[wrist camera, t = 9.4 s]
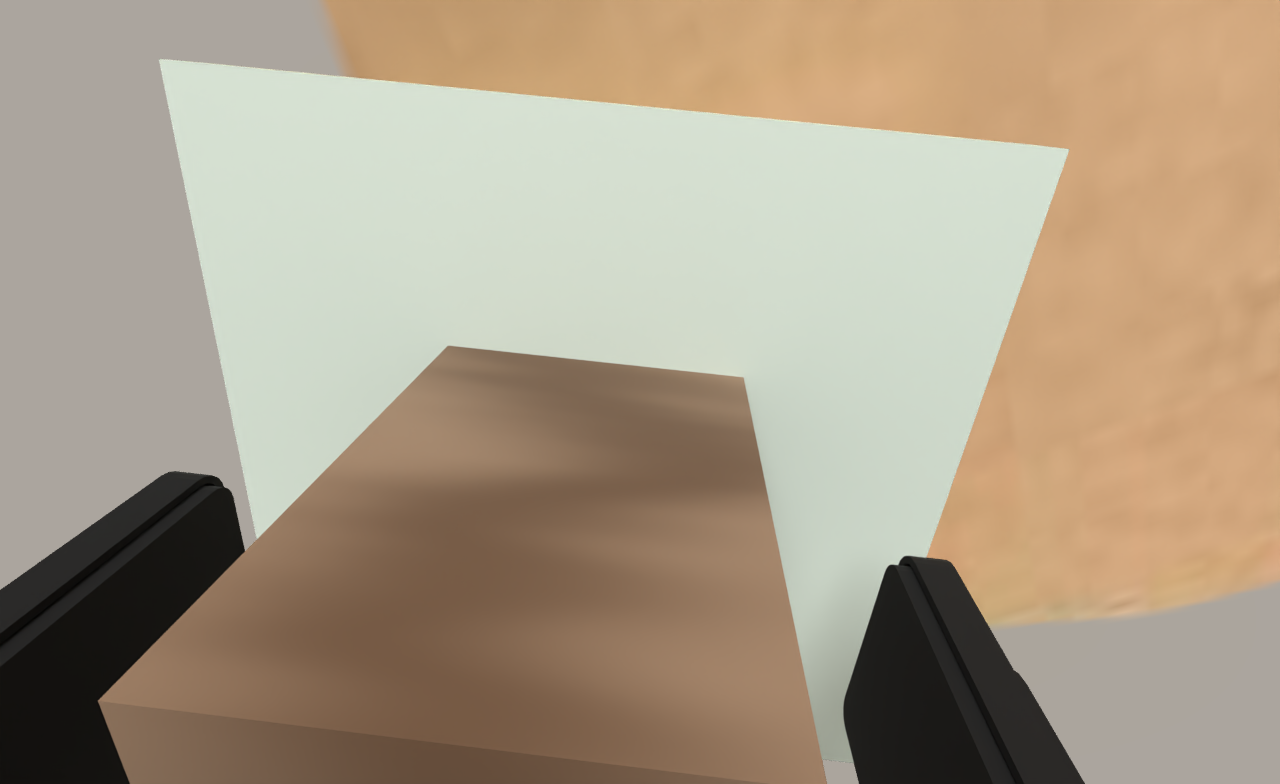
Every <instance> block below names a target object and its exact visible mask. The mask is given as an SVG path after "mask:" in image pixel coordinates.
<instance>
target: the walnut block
mask: <svg viewBox="0 0 1280 784" xmlns="http://www.w3.org/2000/svg"><path fill="white" fill-rule="evenodd" d="M98 703H99V705H100V708H101V710H102V713H103V715H104V718H105V721H106V723H107V726H108V728H109V731H110V734H111V736H112V739H113V741H114V744H115V746H116V749H117V752H118V754H119V757H120V759H121V762H122V764H123V767H124V770H125V772H126V775H127V777H128V780H129V783H130V784H827V781H826V777H825V772H824V767H823V762H822V757H821V752H820V747H819V742H818V737H817V733H816V728H815V723H814V718H813V713H812V708H811V703H810V698H809V694H808V689H807V684H806V679H805V674H804V669H803V664H802V659H801V655H800V650H799V645H798V640H797V635H796V630H795V625H794V621H793V616H792V611H791V606H790V601H789V596H788V591H787V586H786V582H785V577H784V572H783V567H782V562H781V557H780V552H779V547H778V543H777V538H776V533H775V528H774V523H773V518H772V513H771V509H770V504H769V499H768V494H767V489H766V484H765V479H764V474H763V470H762V465H761V460H760V455H759V450H758V445H757V440H756V435H755V431H754V426H753V421H752V416H751V411H750V406H749V401H748V396H747V392H746V387H745V382H744V377H736V376H727V375H717V374H708V373H699V372H689V371H680V370H671V369H662V368H652V367H643V366H634V365H624V364H615V363H606V362H596V361H587V360H578V359H569V358H559V357H550V356H541V355H531V354H522V353H513V352H503V351H494V350H485V349H476V348H466V347H457V346H447V347H446V348H445V349H444V350H443V351H442V352H441V353H440V354H439V355H438V356H437V357H436V358H435V359H434V360H433V361H432V362H431V363H430V364H429V365H428V366H427V367H426V368H425V369H424V370H423V371H422V372H421V373H420V374H419V375H418V376H417V377H416V378H415V380H414V381H413V382H412V383H411V384H410V385H409V386H408V387H407V388H406V389H405V390H404V391H403V392H402V393H401V394H400V395H399V396H398V397H397V398H396V399H395V400H394V401H393V402H392V403H391V404H390V405H389V406H388V407H387V408H386V409H385V410H384V411H383V412H382V413H381V414H380V415H379V416H378V417H377V418H376V419H375V420H374V421H373V422H372V423H371V424H370V425H369V426H368V427H367V428H366V429H365V430H364V431H363V432H362V433H361V434H360V435H359V436H358V437H357V438H356V439H355V440H354V441H353V442H352V443H351V444H350V445H349V447H348V448H347V449H346V450H345V451H344V452H343V453H342V454H341V455H340V456H339V457H338V458H337V459H336V460H335V461H334V462H333V463H332V464H331V465H330V466H329V467H328V468H327V469H326V470H325V471H324V472H323V473H322V474H321V475H320V476H319V477H318V478H317V479H316V480H315V481H314V482H313V483H312V484H311V485H310V486H309V487H308V488H307V489H306V490H305V491H304V492H303V493H302V494H301V495H300V496H299V497H298V498H297V499H296V500H295V501H294V502H293V503H292V504H291V505H290V506H289V507H288V508H287V509H286V510H285V511H284V512H283V513H282V515H281V516H280V517H279V518H278V519H277V520H276V521H275V522H274V523H273V524H272V525H271V526H270V527H269V528H268V529H267V530H266V531H265V532H264V533H263V534H262V535H261V536H260V537H259V538H258V539H257V540H256V541H255V542H254V543H253V544H252V545H251V546H250V547H249V548H248V549H247V550H246V551H245V552H244V553H243V554H242V555H241V556H240V557H239V558H238V559H237V560H236V561H235V562H234V563H233V564H232V565H231V566H230V567H229V568H228V569H227V570H226V571H225V572H224V573H223V574H222V575H221V576H220V577H219V578H218V579H217V580H216V581H215V583H214V584H213V585H212V586H211V587H210V588H209V589H208V590H207V591H206V592H205V593H204V594H203V595H202V596H201V597H200V598H199V599H198V600H197V601H196V602H195V603H194V604H193V605H192V606H191V607H190V608H189V609H188V610H187V611H186V612H185V613H184V614H183V615H182V616H181V617H180V618H179V619H178V620H177V621H176V622H175V623H174V624H173V625H172V626H171V627H170V628H169V629H168V630H167V631H166V632H165V633H164V634H163V635H162V636H161V637H160V638H159V639H158V640H157V641H156V642H155V643H154V644H153V645H152V646H151V647H150V648H149V649H148V651H147V652H146V653H145V654H144V655H143V656H142V657H141V658H140V659H139V660H138V661H137V662H136V663H135V664H134V665H133V666H132V667H131V668H130V669H129V670H128V671H127V672H126V673H125V674H124V675H123V676H122V677H121V678H120V679H119V680H118V681H117V682H116V683H115V684H114V685H113V686H112V687H111V688H110V689H109V690H108V691H107V692H106V693H105V694H104V695H103V696H102V697H101V698H100V699H99V700H98Z"/></svg>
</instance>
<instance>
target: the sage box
mask: <svg viewBox="0 0 1280 784" xmlns="http://www.w3.org/2000/svg"><path fill="white" fill-rule="evenodd" d="M159 62H160V67H161V72H162V77H163V82H164V87H165V92H166V96H167V102H168V107H169V111H170V116H171V121H172V126H173V131H174V136H175V141H176V146H177V151H178V155H179V160H180V165H181V170H182V175H183V180H184V184H185V190H186V195H187V199H188V205H189V209H190V214H191V219H192V224H193V229H194V234H195V239H196V243H197V249H198V254H199V259H200V263H201V268H202V273H203V278H204V283H205V288H206V293H207V298H208V303H209V308H210V312H211V317H212V322H213V327H214V332H215V337H216V341H217V347H218V351H219V357H220V361H221V366H222V371H223V376H224V381H225V386H226V391H227V396H228V401H229V405H230V410H231V415H232V420H233V425H234V430H235V435H236V440H237V445H238V449H239V455H240V459H241V464H242V469H243V474H244V479H245V484H246V489H247V493H248V498H249V503H250V508H251V513H252V518H253V523H254V528H255V533H256V538H257V539H258V538H259V537H260V536H261V535H262V534H263V533H264V532H265V531H266V530H267V529H268V528H269V527H270V526H271V525H272V524H273V523H274V522H275V521H276V520H277V519H278V518H279V517H280V516H281V515H282V513H283V512H284V511H285V510H286V509H287V508H288V507H289V506H290V505H291V504H292V503H293V502H294V501H295V500H296V499H297V498H298V497H299V496H300V495H301V494H302V493H303V492H304V491H305V490H306V489H307V488H308V487H309V486H310V485H311V484H312V483H313V482H314V481H315V480H316V479H317V478H318V477H319V476H320V475H321V474H322V473H323V472H324V471H325V470H326V469H327V468H328V467H329V466H330V465H331V464H332V463H333V462H334V461H335V460H336V459H337V458H338V457H339V456H340V455H341V454H342V453H343V452H344V451H345V450H346V449H347V448H348V447H349V445H350V444H351V443H352V442H353V441H354V440H355V439H356V438H357V437H358V436H359V435H360V434H361V433H362V432H363V431H364V430H365V429H366V428H367V427H368V426H369V425H370V424H371V423H372V422H373V421H374V420H375V419H376V418H377V417H378V416H379V415H380V414H381V413H382V412H383V411H384V410H385V409H386V408H387V407H388V406H389V405H390V404H391V403H392V402H393V401H394V400H395V399H396V398H397V397H398V396H399V395H400V394H401V393H402V392H403V391H404V390H405V389H406V388H407V387H408V386H409V385H410V384H411V383H412V382H413V381H414V380H415V378H416V377H417V376H418V375H419V374H420V373H421V372H422V371H423V370H424V369H425V368H426V367H427V366H428V365H429V364H430V363H431V362H432V361H433V360H434V359H435V358H436V357H437V356H438V355H439V354H440V353H441V352H442V351H443V350H444V349H445V348H446V347H447V346H457V347H466V348H476V349H485V350H494V351H503V352H513V353H522V354H531V355H541V356H550V357H559V358H569V359H578V360H587V361H596V362H606V363H615V364H624V365H634V366H643V367H652V368H662V369H671V370H680V371H689V372H699V373H708V374H717V375H727V376H736V377H744V382H745V387H746V392H747V396H748V401H749V406H750V411H751V416H752V421H753V426H754V431H755V435H756V440H757V445H758V450H759V455H760V460H761V465H762V470H763V474H764V479H765V484H766V489H767V494H768V499H769V504H770V509H771V513H772V518H773V523H774V528H775V533H776V538H777V543H778V547H779V552H780V557H781V562H782V567H783V572H784V577H785V582H786V586H787V591H788V596H789V601H790V606H791V611H792V616H793V621H794V625H795V630H796V635H797V640H798V645H799V650H800V655H801V659H802V664H803V669H804V674H805V679H806V684H807V689H808V694H809V698H810V703H811V708H812V713H813V718H814V723H815V728H816V733H817V737H818V742H819V747H820V752H821V757H822V759H823V760H831V761H839V762H848V763H854V761H853V757H852V753H851V750H850V746H849V742H848V738H847V734H846V730H845V725H844V718H843V705H844V699H845V695H846V692H847V688H848V685H849V682H850V679H851V676H852V673H853V670H854V667H855V663H856V660H857V657H858V654H859V651H860V648H861V645H862V642H863V639H864V635H865V632H866V629H867V626H868V623H869V620H870V617H871V614H872V610H873V607H874V604H875V601H876V598H877V595H878V592H879V589H880V585H881V582H882V579H883V576H884V573H885V571H886V568H887V567H888V566H889V565H892V564H893V565H898V564H899V562H900V560H901V559H902V558H903V557H904V556H916V557H924V558H926V557H927V554H928V551H929V548H930V545H931V542H932V539H933V537H934V534H935V531H936V528H937V525H938V522H939V520H940V517H941V514H942V511H943V508H944V505H945V502H946V500H947V497H948V494H949V491H950V488H951V485H952V482H953V480H954V477H955V474H956V471H957V468H958V465H959V463H960V460H961V457H962V454H963V451H964V448H965V445H966V443H967V440H968V437H969V434H970V431H971V428H972V425H973V423H974V420H975V417H976V414H977V411H978V408H979V406H980V403H981V400H982V397H983V394H984V391H985V388H986V386H987V383H988V380H989V377H990V374H991V371H992V368H993V366H994V363H995V360H996V357H997V354H998V351H999V349H1000V346H1001V343H1002V340H1003V337H1004V334H1005V331H1006V329H1007V326H1008V323H1009V320H1010V317H1011V314H1012V311H1013V309H1014V306H1015V303H1016V300H1017V297H1018V294H1019V292H1020V289H1021V286H1022V283H1023V280H1024V277H1025V274H1026V272H1027V269H1028V266H1029V263H1030V260H1031V257H1032V254H1033V252H1034V249H1035V246H1036V243H1037V240H1038V237H1039V235H1040V232H1041V229H1042V226H1043V223H1044V220H1045V217H1046V215H1047V212H1048V209H1049V206H1050V203H1051V200H1052V197H1053V195H1054V192H1055V189H1056V186H1057V183H1058V180H1059V178H1060V175H1061V172H1062V169H1063V166H1064V163H1065V160H1066V158H1067V155H1068V152H1069V149H1063V148H1055V147H1047V146H1039V145H1030V144H1020V143H1010V142H999V141H989V140H979V139H969V138H959V137H949V136H939V135H929V134H919V133H909V132H898V131H888V130H878V129H868V128H858V127H848V126H838V125H828V124H818V123H808V122H798V121H787V120H777V119H767V118H757V117H747V116H737V115H727V114H717V113H707V112H697V111H686V110H676V109H666V108H656V107H646V106H636V105H626V104H616V103H606V102H596V101H586V100H575V99H565V98H555V97H545V96H535V95H525V94H515V93H505V92H495V91H485V90H474V89H464V88H454V87H444V86H434V85H424V84H414V83H404V82H394V81H384V80H374V79H363V78H353V77H343V76H333V75H322V74H313V73H302V72H293V71H282V70H271V69H262V68H252V67H242V66H232V65H222V64H212V63H200V62H189V61H176V60H165V59H159Z"/></svg>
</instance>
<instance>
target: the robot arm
mask: <svg viewBox="0 0 1280 784" xmlns="http://www.w3.org/2000/svg"><path fill="white" fill-rule="evenodd" d="M244 552H245V549H244V545H243V540H242V536H241V531H240V526H239V522H238V517H237V513H236V507H235V503H234V498H233V495H232V493H231V491H230V490H229V489H227V488H225V487H224V486H223V483H222V482H221V481H220V479H219V478H217V477H215V476H212V475H203V474H194V473H186V472H176V471H174V472H168V473H166V474H164V475H162V476H160V477H159V478H158V479H156V480H155V481H154V482H152V483H150V484H149V485H148V486H146V487H145V488H144V489H142V490H141V491H139V492H138V493H137V494H135V495H134V496H132V497H131V498H129V499H128V500H127V501H125V502H124V503H122V504H121V505H120V506H118V507H117V508H115V509H114V510H112V511H111V512H110V513H108V514H107V515H105V516H104V517H103V518H101V519H100V520H98V521H97V522H96V523H94V524H93V525H91V526H90V527H89V528H87V529H86V530H84V531H83V532H81V533H80V534H79V535H77V536H76V537H75V538H73V539H72V540H70V541H69V542H67V543H66V544H64V545H63V546H62V547H60V548H59V549H57V550H56V551H55V552H53V553H52V554H50V555H49V556H48V557H46V558H45V559H43V560H42V561H41V562H39V563H38V564H37V565H35V566H34V567H32V568H31V569H29V570H28V571H27V572H25V573H24V574H22V575H21V576H20V577H18V578H17V579H15V580H14V581H12V582H11V583H10V584H8V585H7V586H5V587H4V588H2V589H1V590H0V784H130V783H129V780H128V777H127V775H126V772H125V770H124V767H123V764H122V762H121V759H120V757H119V754H118V752H117V749H116V746H115V744H114V741H113V739H112V736H111V734H110V731H109V728H108V726H107V723H106V721H105V718H104V715H103V713H102V710H101V708H100V705H99V703H98V700H99V699H100V698H101V697H102V696H103V695H104V694H105V693H106V692H107V691H108V690H109V689H110V688H111V687H112V686H113V685H114V684H115V683H116V682H117V681H118V680H119V679H120V678H121V677H122V676H123V675H124V674H125V673H126V672H127V671H128V670H129V669H130V668H131V667H132V666H133V665H134V664H135V663H136V662H137V661H138V660H139V659H140V658H141V657H142V656H143V655H144V654H145V653H146V652H147V651H148V649H149V648H150V647H151V646H152V645H153V644H154V643H155V642H156V641H157V640H158V639H159V638H160V637H161V636H162V635H163V634H164V633H165V632H166V631H167V630H168V629H169V628H170V627H171V626H172V625H173V624H174V623H175V622H176V621H177V620H178V619H179V618H180V617H181V616H182V615H183V614H184V613H185V612H186V611H187V610H188V609H189V608H190V607H191V606H192V605H193V604H194V603H195V602H196V601H197V600H198V599H199V598H200V597H201V596H202V595H203V594H204V593H205V592H206V591H207V590H208V589H209V588H210V587H211V586H212V585H213V584H214V583H215V581H216V580H217V579H218V578H219V577H220V576H221V575H222V574H223V573H224V572H225V571H226V570H227V569H228V568H229V567H230V566H231V565H232V564H233V563H234V562H235V561H236V560H237V559H238V558H239V557H240V556H241V555H242V554H243V553H244ZM843 718H844V725H845V730H846V734H847V738H848V742H849V746H850V750H851V753H852V757H853V761H854V765H855V769H856V773H857V777H858V781H859V784H1085V783H1084V781H1083V780H1082V778H1081V776H1080V775H1079V773H1078V771H1077V769H1076V768H1075V766H1074V764H1073V763H1072V761H1071V759H1070V758H1069V756H1068V754H1067V752H1066V751H1065V749H1064V747H1063V745H1062V744H1061V742H1060V740H1059V739H1058V737H1057V735H1056V733H1055V732H1054V730H1053V728H1052V727H1051V725H1050V723H1049V721H1048V720H1047V718H1046V716H1045V715H1044V713H1043V711H1042V709H1041V708H1040V706H1039V704H1038V703H1037V701H1036V699H1035V697H1034V696H1033V694H1032V692H1031V691H1030V689H1029V687H1028V685H1027V684H1026V683H1025V681H1024V680H1023V679H1022V677H1021V676H1020V675H1019V674H1018V673H1017V672H1016V671H1014V670H1013V668H1012V666H1011V664H1010V663H1009V661H1008V659H1007V658H1006V656H1005V654H1004V652H1003V650H1002V649H1001V647H1000V645H999V644H998V642H997V640H996V638H995V637H994V635H993V633H992V631H991V630H990V628H989V626H988V624H987V623H986V621H985V619H984V617H983V616H982V614H981V612H980V611H979V609H978V607H977V605H976V604H975V602H974V600H973V598H972V597H971V595H970V593H969V591H968V590H967V588H966V586H965V584H964V583H963V581H962V579H961V578H960V576H959V574H958V572H957V571H956V569H955V567H954V566H953V565H952V563H951V562H949V561H947V560H942V559H933V558H924V557H916V556H904V557H903V558H902V559H901V560H900V562H899V564H898V565H893V564H892V565H889V566H888V567H887V568H886V571H885V573H884V576H883V579H882V582H881V585H880V589H879V592H878V595H877V598H876V601H875V604H874V607H873V610H872V614H871V617H870V620H869V623H868V626H867V629H866V632H865V635H864V639H863V642H862V645H861V648H860V651H859V654H858V657H857V660H856V663H855V667H854V670H853V673H852V676H851V679H850V682H849V685H848V688H847V692H846V695H845V699H844V705H843Z"/></svg>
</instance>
